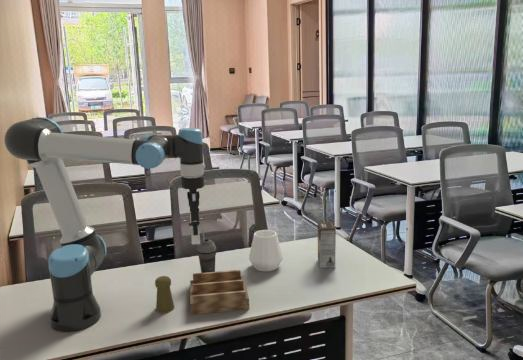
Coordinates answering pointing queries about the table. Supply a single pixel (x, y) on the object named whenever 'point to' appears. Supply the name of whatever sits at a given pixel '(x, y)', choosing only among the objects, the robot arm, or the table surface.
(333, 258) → the coffee box
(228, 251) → the table surface
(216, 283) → the rack
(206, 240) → the beverage cup
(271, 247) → the cup
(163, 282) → the olive green pawn
